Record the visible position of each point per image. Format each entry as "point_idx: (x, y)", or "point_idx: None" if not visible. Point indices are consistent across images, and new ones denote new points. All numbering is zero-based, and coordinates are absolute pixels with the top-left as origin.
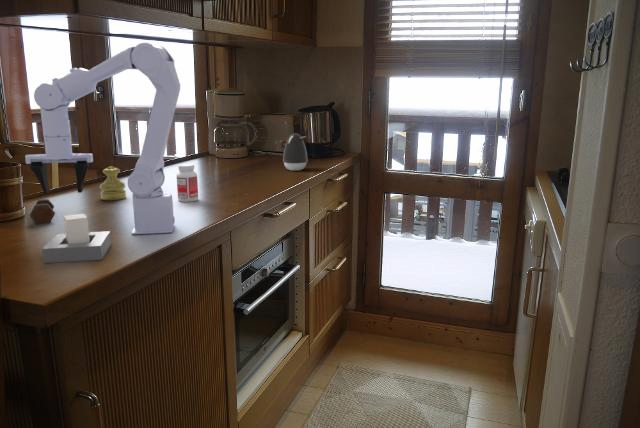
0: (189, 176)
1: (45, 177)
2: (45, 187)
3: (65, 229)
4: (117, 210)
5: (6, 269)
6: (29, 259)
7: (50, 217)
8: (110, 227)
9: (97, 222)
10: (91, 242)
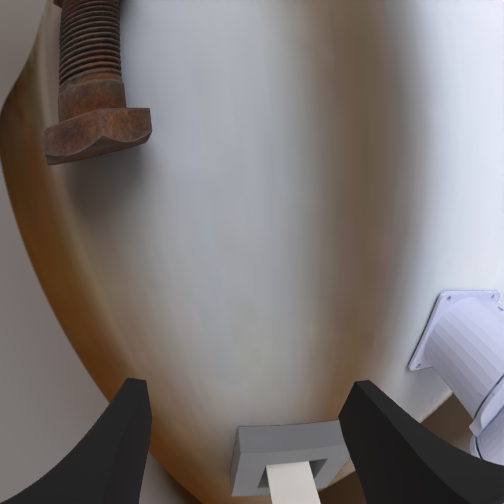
0: None
1: (126, 493)
2: (146, 455)
3: (270, 490)
4: (404, 18)
5: (178, 480)
6: (197, 463)
7: (135, 144)
8: (380, 283)
9: (345, 193)
10: (314, 481)
